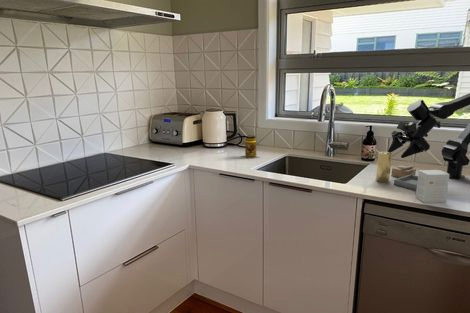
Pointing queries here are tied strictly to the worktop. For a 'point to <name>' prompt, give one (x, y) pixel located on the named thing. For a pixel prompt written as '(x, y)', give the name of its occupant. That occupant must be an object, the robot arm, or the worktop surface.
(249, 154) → the condiment
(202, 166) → the worktop surface
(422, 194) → the small box
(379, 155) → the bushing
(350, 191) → the worktop surface
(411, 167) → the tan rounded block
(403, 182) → the tray
